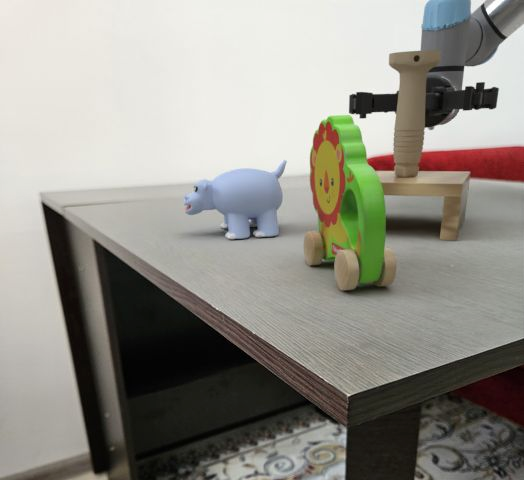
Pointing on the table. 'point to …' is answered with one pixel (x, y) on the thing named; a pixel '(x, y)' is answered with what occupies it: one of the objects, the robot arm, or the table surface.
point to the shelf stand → (434, 194)
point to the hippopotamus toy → (241, 200)
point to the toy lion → (347, 208)
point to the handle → (411, 107)
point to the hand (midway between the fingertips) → (410, 101)
